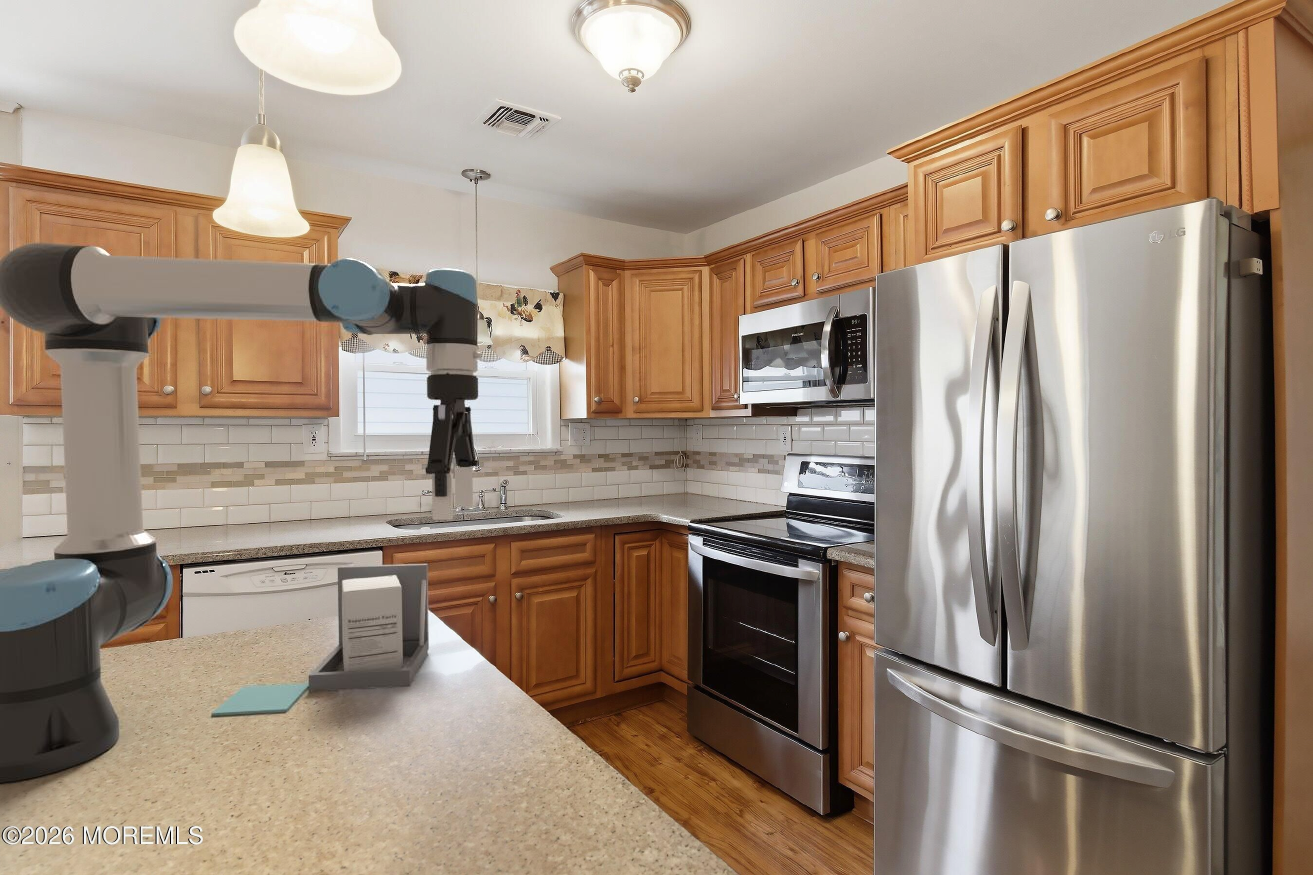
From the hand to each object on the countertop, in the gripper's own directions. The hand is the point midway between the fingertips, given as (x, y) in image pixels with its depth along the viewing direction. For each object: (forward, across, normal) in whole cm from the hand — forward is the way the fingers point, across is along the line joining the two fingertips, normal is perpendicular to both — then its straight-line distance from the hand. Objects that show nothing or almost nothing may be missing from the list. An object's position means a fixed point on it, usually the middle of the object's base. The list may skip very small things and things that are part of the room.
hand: (454, 512), depth 108 cm
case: (+28, +9, +16) cm, 33 cm away
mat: (+28, -2, +28) cm, 39 cm away
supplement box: (+28, +9, +16) cm, 33 cm away
